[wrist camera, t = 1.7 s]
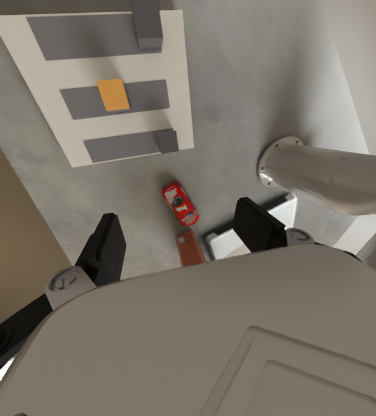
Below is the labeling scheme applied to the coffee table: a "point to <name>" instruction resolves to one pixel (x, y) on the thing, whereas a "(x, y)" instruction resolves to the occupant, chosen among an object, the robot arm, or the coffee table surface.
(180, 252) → the control panel
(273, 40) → the coffee table surface
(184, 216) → the race car
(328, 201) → the robot arm
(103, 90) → the block
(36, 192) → the coffee table surface
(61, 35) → the board
